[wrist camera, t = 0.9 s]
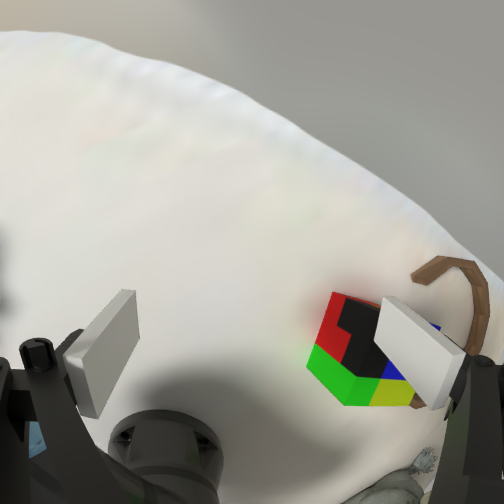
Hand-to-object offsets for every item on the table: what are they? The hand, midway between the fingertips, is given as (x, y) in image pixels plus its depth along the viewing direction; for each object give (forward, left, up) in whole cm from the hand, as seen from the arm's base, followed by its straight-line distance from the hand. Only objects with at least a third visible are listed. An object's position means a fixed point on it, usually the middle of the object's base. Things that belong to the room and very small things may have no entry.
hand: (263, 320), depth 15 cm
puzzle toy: (-7, -18, -18) cm, 27 cm away
